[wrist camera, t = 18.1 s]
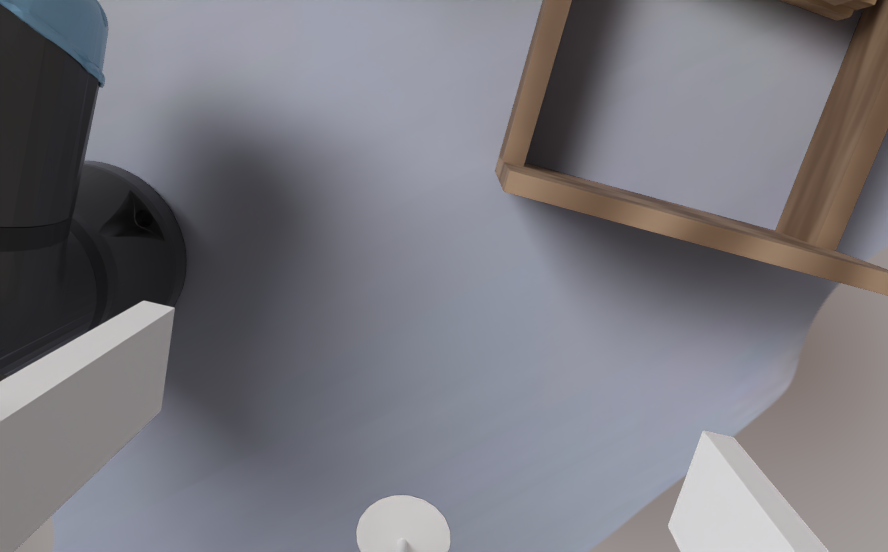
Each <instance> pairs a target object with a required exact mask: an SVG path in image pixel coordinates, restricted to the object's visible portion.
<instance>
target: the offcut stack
mask: <svg viewBox="0 0 888 552" xmlns="http://www.w3.org/2000/svg"><path fill="white" fill-rule="evenodd" d="M781 1H784V2H787V3H789V4H792V5H795V6H798V7H800V8H803V9H806V10H809V11H811V12H814V13H817V14H820V15H822V16H825V17H828V18H831V19H833V20H836V21H838V20H842V19H846V18H849V17H851V16H852V14H853V12H854V9H855V10H859V9H862V8H866V7H869V6H873V5H875V3H876V1H877V0H781Z"/></svg>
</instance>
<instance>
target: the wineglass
mask: <svg viewBox="0 0 888 552" xmlns="http://www.w3.org/2000/svg"><path fill="white" fill-rule="evenodd" d="M356 534H357V544H358V547H359V549H360V551H361V552H448V550H449V547H450V529H449V527H448V524H447V522H446V519H445V518H444V517H443V515H442V514H441V513H440V512H439V511H438V509H437V508H436V507H434V506H433V505H431V504H429V503H428V502H426V501H425V500H423V499H419V498H416V497H412V496H409V495H393V496H390V497H387V498H383V499H380V500H378V501H377V502H375V503H374V504H372V505H371V506H369V507H368V508H367V509H366V511H365V512H364V513H363V515H362V516H361V517H360V520H359V523H358V526H357V530H356Z"/></svg>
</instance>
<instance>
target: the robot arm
mask: <svg viewBox="0 0 888 552" xmlns="http://www.w3.org/2000/svg"><path fill="white" fill-rule="evenodd" d="M107 36H108V21H107V17H106V14H105V12H104V10H103V9H102V7H101V5H100V4H99V2H98V1H97V0H0V552H14V551H15V550H16V549H17V548H18V547H19V546H20V545H21V544H22V543H23V542H24V541H26V540H27V538H29V537H30V536H31V535H32V534H33V533H34V532H35V531H36V530H37V529H38V528H39V527H40V526H41V525H42V524H43V523H44V522H45V521H46V520H47V519H48V518H49V517H51V516H52V515H53V514H54V513H55V512H56V511H57V510H58V509H59V508H60V507H61V506H62V505H63V504H64V503H65V502H66V501H67V500H68V499H69V498H70V497H71V496H72V495H74V494H75V493H76V492H77V491H78V490H79V489H80V488H81V487H82V486H83V485H84V484H85V483H86V482H87V481H88V480H89V479H90V478H91V477H92V476H93V475H94V474H95V473H96V472H98V471H99V470H100V469H101V468H102V467H103V466H104V465H105V464H106V463H107V462H108V461H109V460H110V459H111V458H112V457H113V456H114V455H115V454H116V453H117V452H118V451H119V450H120V449H122V448H123V447H124V446H125V445H126V444H127V443H128V442H129V441H130V440H131V439H132V438H133V437H134V436H135V435H136V434H137V433H138V432H139V431H140V430H141V429H142V428H143V427H144V426H146V425H147V424H148V423H149V422H150V421H151V420H152V419H153V418H154V417H155V416H156V415H157V414H158V413H159V412H160V411H161V408H162V401H163V394H164V386H165V379H166V371H167V364H168V356H169V349H170V342H171V334H172V327H173V319H174V312H175V308H174V307H173V306H174V305H175V303H176V301H177V299H178V297H179V295H180V293H181V290H182V287H183V284H184V279H185V273H186V252H185V246H184V241H183V237H182V234H181V231H180V228H179V226H178V223H177V221H176V219H175V217H174V216H173V214H172V212H171V210H170V209H169V208H168V206H167V205H166V203H165V202H164V201H163V199H162V198H161V197H160V196H159V195H158V194H157V193H156V192H155V191H154V190H153V189H152V188H151V187H150V186H149V185H148V184H146V183H145V182H144V181H142V180H141V179H140V178H138V177H136V176H135V175H133V174H131V173H130V172H128V171H126V170H123V169H121V168H119V167H116V166H113V165H110V164H106V163H102V162H96V161H84V160H85V155H86V150H87V145H88V140H89V135H90V130H91V124H92V119H93V114H94V109H95V104H96V99H97V94H98V89H99V87H103V86H104V83H105V77H104V75H103V73H102V70H103V63H104V56H105V49H106V43H107ZM668 527H669V529H670V531H671V533H672V535H673V537H674V539H675V541H676V543H677V545H678V547H679V550H680V551H681V552H829V551H828V550H827V549H826V547H825V546H824V545H823V544H822V543H821V541H820V540H819V539H818V538H817V537H816V536H815V534H814V533H813V532H812V531H811V529H810V528H809V527H808V526H807V525H806V524H805V522H804V521H803V520H802V519H801V517H800V516H799V515H798V514H797V513H796V511H795V510H794V509H793V508H792V507H791V506H790V505H789V503H788V502H787V501H786V500H785V498H784V497H783V496H782V495H781V494H780V492H779V491H778V490H777V489H776V488H775V486H774V485H773V484H772V483H771V482H770V480H769V479H768V478H767V477H766V476H765V474H764V473H763V472H762V471H761V470H760V468H759V467H758V466H757V465H756V464H755V463H754V461H753V460H752V459H751V458H750V457H749V455H748V454H747V453H746V452H745V451H744V449H743V448H742V447H741V446H740V445H739V443H738V442H737V441H736V440H735V439H734V437H730V436H725V435H721V434H717V433H712V432H708V431H704V430H703V432H702V435H701V438H700V441H699V443H698V446H697V449H696V451H695V454H694V457H693V459H692V462H691V465H690V468H689V470H688V473H687V476H686V478H685V481H684V484H683V487H682V489H681V492H680V495H679V497H678V500H677V503H676V506H675V508H674V511H673V514H672V516H671V519H670V522H669V524H668Z"/></svg>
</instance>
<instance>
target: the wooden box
mask: <svg viewBox="0 0 888 552" xmlns="http://www.w3.org/2000/svg"><path fill="white" fill-rule="evenodd" d="M571 2H572V0H543V2H542V5H541V9H540V12H539V16H538V20H537V23H536V27H535V30H534V34H533V37H532V41H531V44H530V48H529V52H528V55H527V59H526V62H525V66H524V69H523V73H522V76H521V80H520V84H519V87H518V91H517V94H516V98H515V101H514V105H513V108H512V112H511V116H510V119H509V123H508V126H507V130H506V133H505V137H504V140H503V144H502V148H501V151H500V155H499V158H498V162H497V165H496V169H495V172H496V175H497V177H498V179H499V182H500V184H501V186H502V189H503V191H504V192H507V193H511V194H514V195H518V196H522V197H525V198H529V199H533V200H536V201H540V202H544V203H548V204H551V205H555V206H559V207H562V208H566V209H570V210H573V211H577V212H581V213H585V214H588V215H592V216H596V217H599V218H603V219H607V220H610V221H614V222H618V223H621V224H625V225H629V226H633V227H636V228H640V229H644V230H647V231H651V232H655V233H658V234H662V235H666V236H669V237H673V238H677V239H681V240H684V241H688V242H692V243H695V244H699V245H703V246H706V247H710V248H714V249H718V250H721V251H725V252H729V253H732V254H736V255H740V256H743V257H747V258H751V259H754V260H758V261H762V262H766V263H769V264H773V265H777V266H780V267H784V268H788V269H791V270H795V271H799V272H803V273H806V274H810V275H814V276H817V277H821V278H825V279H828V280H832V281H836V282H839V283H843V284H847V285H851V286H854V287H858V288H862V289H865V290H869V291H873V292H876V293H880V294H884V295H888V270H887V269H884V268H881V267H879V266H876V265H873V264H870V263H867V262H865V261H862V260H859V259H856V258H854V257H851V256H848V255H845V254H843V253H840V252H837V251H836V249H837V247H838V244H839V242H840V240H841V237H842V235H843V233H844V230H845V228H846V226H847V223H848V221H849V218H850V216H851V214H852V211H853V209H854V207H855V204H856V202H857V200H858V197H859V195H860V193H861V190H862V188H863V186H864V183H865V181H866V179H867V176H868V174H869V172H870V169H871V167H872V165H873V162H874V160H875V158H876V155H877V153H878V151H879V148H880V146H881V143H882V141H883V139H884V136H885V134H886V132H887V129H888V0H877V1H876V3H875V5H873V6H869V7H866V8H864V10H863V12H862V15H861V17H860V20H859V22H858V25H857V27H856V30H855V32H854V35H853V37H852V40H851V42H850V45H849V47H848V50H847V52H846V55H845V57H844V60H843V62H842V65H841V67H840V70H839V72H838V75H837V77H836V80H835V82H834V85H833V87H832V90H831V92H830V95H829V97H828V100H827V102H826V105H825V107H824V110H823V112H822V115H821V117H820V120H819V122H818V125H817V127H816V130H815V132H814V135H813V137H812V140H811V142H810V145H809V147H808V150H807V152H806V155H805V157H804V160H803V162H802V165H801V167H800V170H799V173H798V175H797V178H796V180H795V183H794V185H793V188H792V190H791V193H790V195H789V198H788V200H787V203H786V205H785V208H784V210H783V213H782V215H781V218H780V220H779V223H778V225H777V228H776V230H775V231H774V230H770V229H766V228H763V227H759V226H755V225H752V224H748V223H744V222H741V221H737V220H733V219H730V218H726V217H722V216H719V215H715V214H711V213H708V212H704V211H700V210H697V209H693V208H689V207H685V206H682V205H678V204H674V203H671V202H667V201H663V200H660V199H656V198H652V197H649V196H645V195H641V194H638V193H634V192H630V191H627V190H623V189H619V188H616V187H612V186H608V185H604V184H601V183H597V182H593V181H590V180H586V179H582V178H579V177H575V176H571V175H568V174H564V173H560V172H557V171H553V170H549V169H546V168H542V167H538V166H535V165H531V164H527V163H525V160H526V156H527V153H528V150H529V146H530V143H531V139H532V136H533V132H534V129H535V126H536V122H537V119H538V115H539V112H540V108H541V105H542V102H543V98H544V95H545V91H546V88H547V84H548V81H549V78H550V74H551V71H552V67H553V64H554V60H555V57H556V54H557V50H558V47H559V43H560V40H561V36H562V33H563V30H564V26H565V23H566V19H567V16H568V12H569V9H570V6H571Z"/></svg>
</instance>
